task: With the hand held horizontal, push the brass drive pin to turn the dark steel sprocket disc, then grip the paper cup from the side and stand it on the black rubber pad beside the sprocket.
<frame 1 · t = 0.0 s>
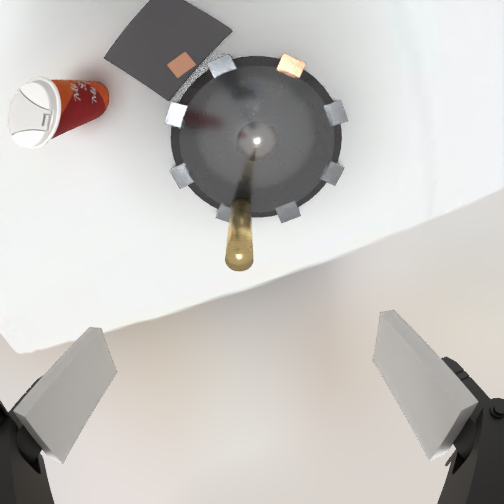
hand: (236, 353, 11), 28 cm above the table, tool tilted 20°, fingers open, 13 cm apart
sprocket: (260, 150, 26), point 8 cm above the table, hinge at 0.0°
paper cup: (92, 100, 28), on the table
sprocket base: (257, 138, 32), on the table
marked pad: (164, 41, 24), on the table
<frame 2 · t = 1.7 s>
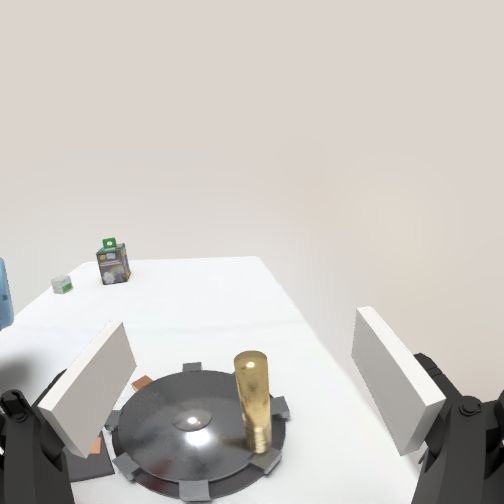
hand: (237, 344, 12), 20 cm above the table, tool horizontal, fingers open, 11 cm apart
sprocket: (181, 385, 26), point 8 cm above the table, hinge at 0.0°
small box: (63, 291, 77), on the table
chalk box: (117, 280, 87), on the table
sprocket base: (195, 427, 28), on the table
marked pad: (66, 447, 21), on the table
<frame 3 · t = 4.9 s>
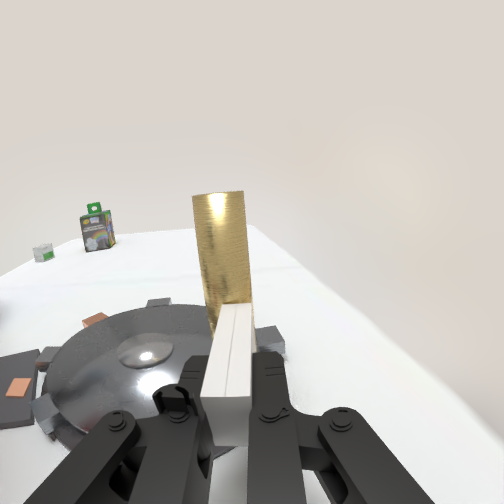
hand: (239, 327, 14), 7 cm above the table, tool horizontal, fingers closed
sprocket: (129, 292, 19), point 8 cm above the table, hinge at 1.3°, touching gripper
small box: (45, 260, 69), on the table
chalk box: (100, 248, 79), on the table
sprocket base: (151, 370, 21), on the table
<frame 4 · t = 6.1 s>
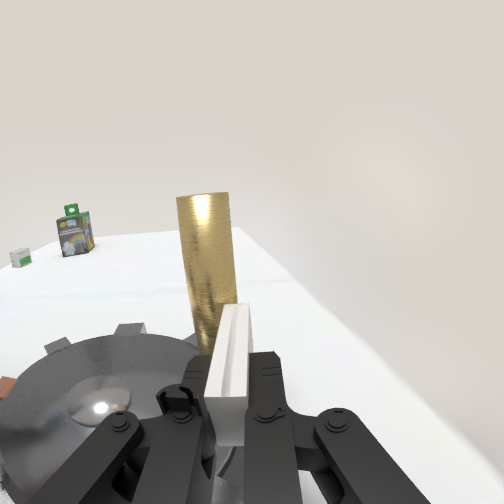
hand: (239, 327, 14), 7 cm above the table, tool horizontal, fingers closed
sprocket: (68, 334, 12), point 8 cm above the table, hinge at 42.1°, touching gripper
small box: (22, 265, 61), on the table
chalk box: (79, 252, 71), on the table
sprocket base: (109, 421, 14), on the table
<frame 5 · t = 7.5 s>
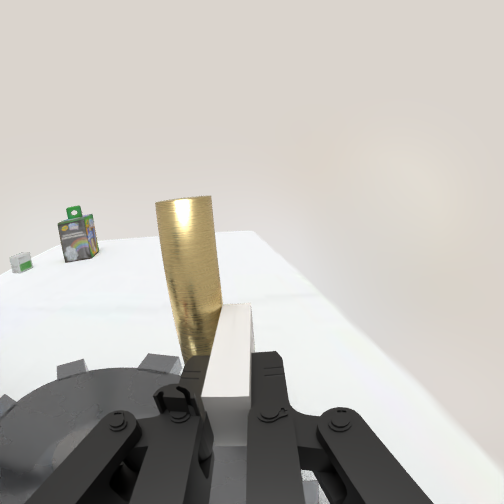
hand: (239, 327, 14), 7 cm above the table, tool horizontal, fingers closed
sprocket: (42, 393, 8), point 7 cm above the table, hinge at 72.6°, touching gripper
small box: (23, 271, 58), on the table
chalk box: (82, 257, 68), on the table
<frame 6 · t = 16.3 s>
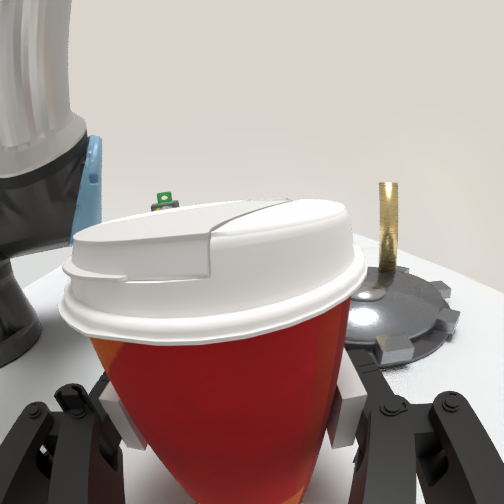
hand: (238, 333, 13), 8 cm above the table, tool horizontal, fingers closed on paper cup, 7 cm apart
sprocket: (366, 245, 27), point 8 cm above the table, hinge at 73.4°
paper cup: (250, 490, 10), on the table, touching gripper
chalk box: (169, 237, 88), on the table
sprocket base: (363, 309, 29), on the table
when the fingers open (10 cm above the table, at t = 20.6 s): paper cup drops 1 cm, resting on marked pad.
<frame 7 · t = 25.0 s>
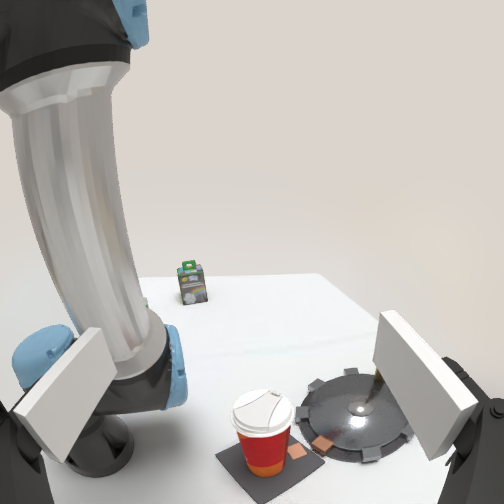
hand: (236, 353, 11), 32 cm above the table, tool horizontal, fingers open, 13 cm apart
sprocket: (366, 385, 37), point 8 cm above the table, hinge at 73.4°
paper cup: (266, 464, 31), resting on marked pad
small box: (139, 313, 88), on the table
chalk box: (194, 299, 98), on the table
sprocket base: (359, 414, 39), on the table
marked pad: (269, 462, 32), on the table
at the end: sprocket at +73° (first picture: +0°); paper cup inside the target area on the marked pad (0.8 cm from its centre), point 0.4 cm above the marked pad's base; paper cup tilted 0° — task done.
